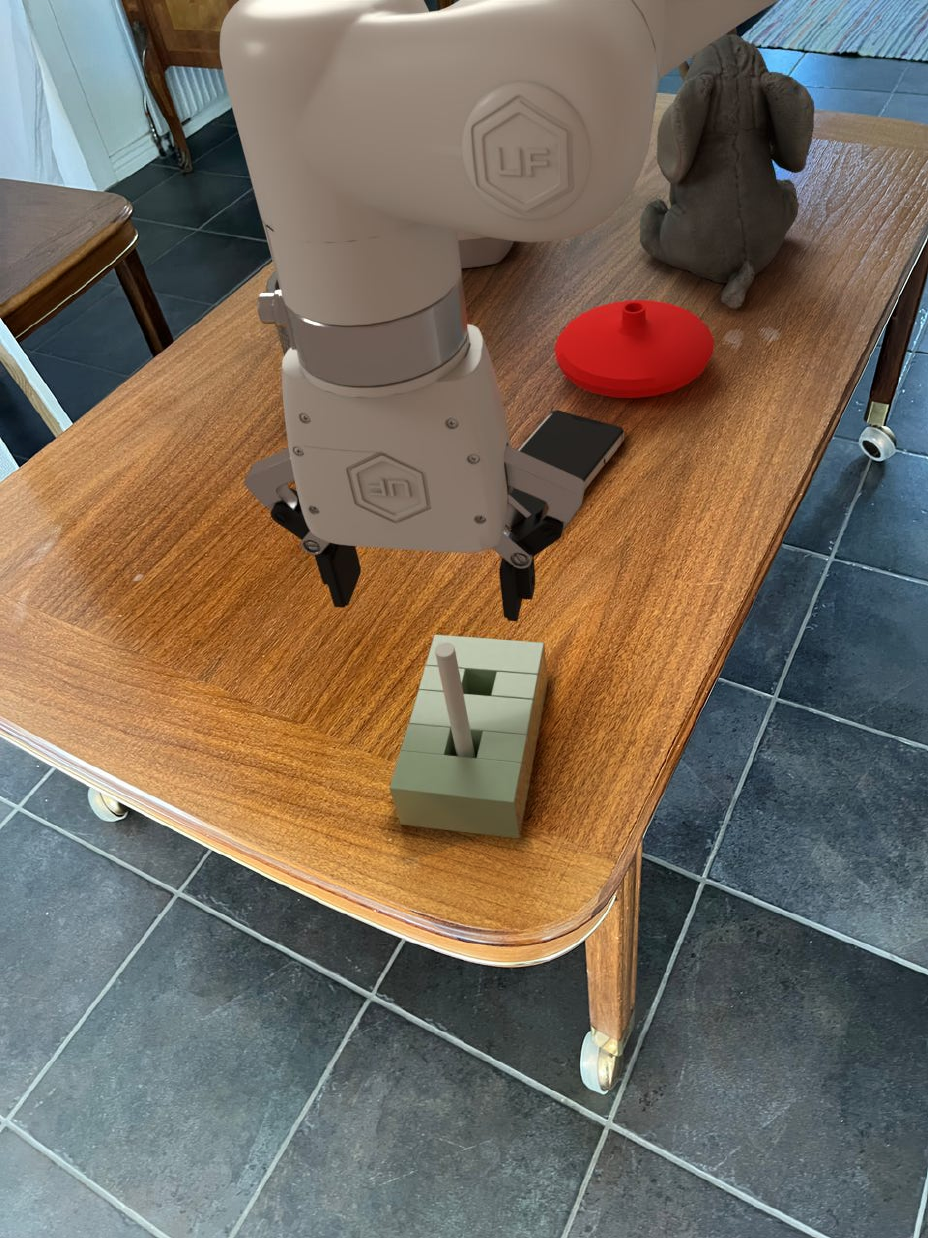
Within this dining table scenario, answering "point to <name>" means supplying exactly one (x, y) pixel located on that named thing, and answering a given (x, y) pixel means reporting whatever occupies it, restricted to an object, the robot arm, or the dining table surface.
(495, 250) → the bowl
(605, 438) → the smartphone
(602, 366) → the red disc with nozzle
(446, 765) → the pen holder
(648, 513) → the dining table surface
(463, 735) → the grey cylindrical rod
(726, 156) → the stuffed elephant
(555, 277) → the dining table surface
